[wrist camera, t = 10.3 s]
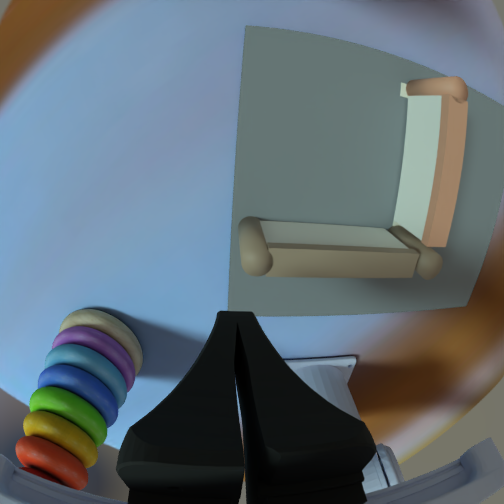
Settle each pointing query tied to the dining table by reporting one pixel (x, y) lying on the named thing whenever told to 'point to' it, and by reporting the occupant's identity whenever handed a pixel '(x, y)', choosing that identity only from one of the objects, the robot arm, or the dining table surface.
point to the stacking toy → (78, 396)
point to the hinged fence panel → (432, 157)
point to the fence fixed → (333, 251)
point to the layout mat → (348, 170)
